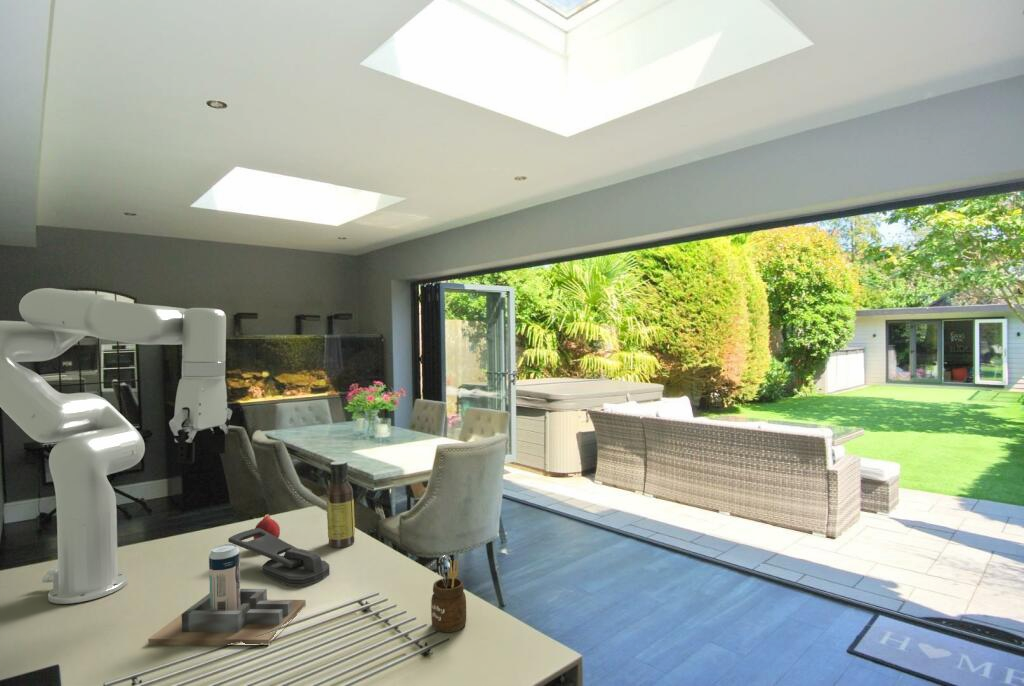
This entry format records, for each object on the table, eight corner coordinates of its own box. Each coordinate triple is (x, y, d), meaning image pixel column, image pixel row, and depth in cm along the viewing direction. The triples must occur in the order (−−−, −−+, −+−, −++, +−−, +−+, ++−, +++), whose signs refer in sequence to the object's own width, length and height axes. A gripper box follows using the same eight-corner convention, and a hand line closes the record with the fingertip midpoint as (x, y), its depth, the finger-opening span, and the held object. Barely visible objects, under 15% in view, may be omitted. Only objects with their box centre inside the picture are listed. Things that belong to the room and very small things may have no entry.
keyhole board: (148, 645, 91) (147, 620, 91) (201, 604, 105) (200, 583, 105) (268, 645, 90) (268, 620, 90) (305, 605, 104) (305, 583, 104)
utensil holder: (458, 613, 99) (457, 545, 99) (472, 628, 94) (471, 556, 94) (426, 621, 96) (425, 551, 97) (439, 637, 91) (437, 563, 91)
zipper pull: (259, 525, 130) (335, 542, 118) (260, 554, 130) (336, 574, 118) (223, 537, 123) (300, 556, 110) (223, 568, 123) (301, 590, 110)
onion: (273, 552, 131) (273, 518, 131) (249, 553, 131) (248, 519, 131) (284, 544, 137) (283, 511, 137) (260, 544, 137) (259, 511, 137)
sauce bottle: (338, 538, 140) (336, 458, 140) (360, 540, 138) (358, 459, 138) (322, 547, 134) (320, 463, 134) (344, 549, 132) (342, 465, 132)
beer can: (246, 614, 98) (245, 546, 98) (220, 626, 94) (218, 555, 94) (231, 608, 101) (229, 541, 101) (204, 619, 97) (202, 550, 97)
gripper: (213, 368, 119) (212, 449, 119) (153, 372, 102) (152, 466, 102) (247, 369, 118) (245, 450, 118) (192, 373, 101) (190, 468, 101)
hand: (202, 457), depth 110 cm, fingers open, 9 cm apart
